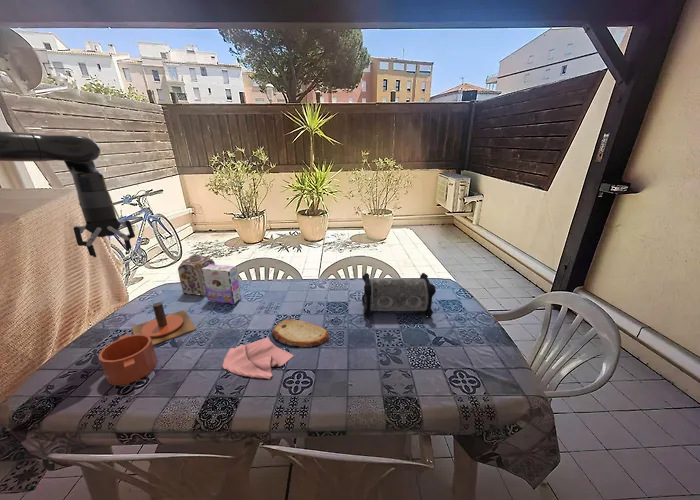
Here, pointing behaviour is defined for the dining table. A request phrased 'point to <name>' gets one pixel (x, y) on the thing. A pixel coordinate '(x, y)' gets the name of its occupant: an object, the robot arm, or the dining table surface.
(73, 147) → the robot arm
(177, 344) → the dining table surface
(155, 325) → the lid
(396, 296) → the speaker
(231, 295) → the candy box
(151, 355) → the pot
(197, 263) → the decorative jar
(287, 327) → the slice of bread
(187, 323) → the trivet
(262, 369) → the cloth
